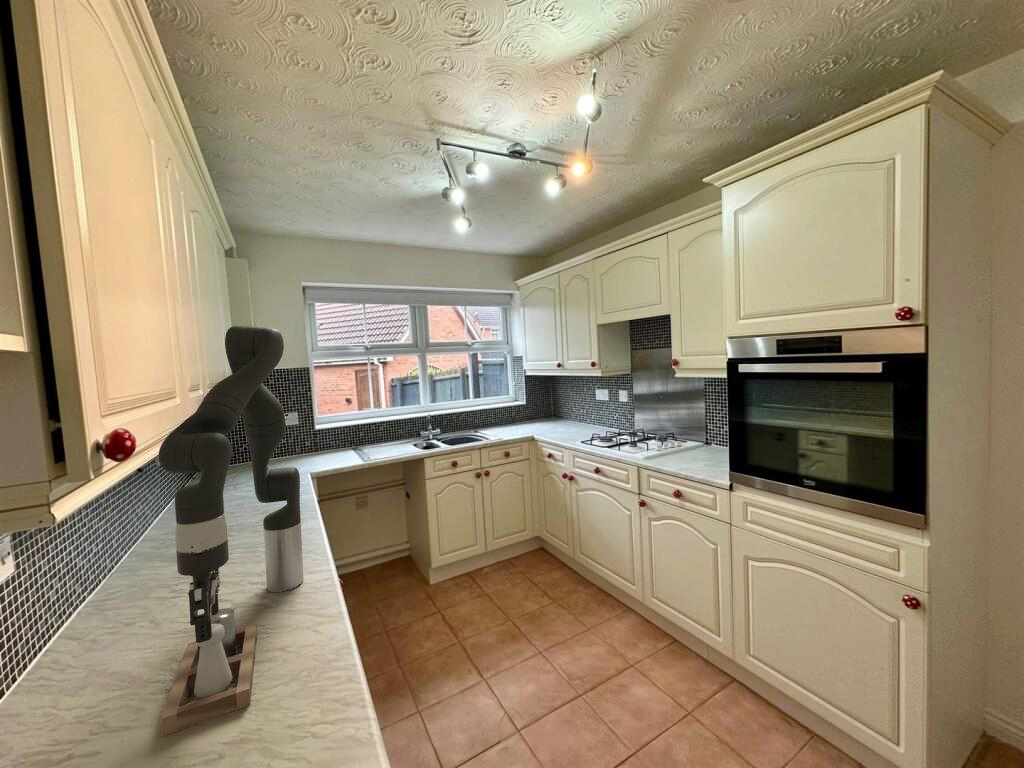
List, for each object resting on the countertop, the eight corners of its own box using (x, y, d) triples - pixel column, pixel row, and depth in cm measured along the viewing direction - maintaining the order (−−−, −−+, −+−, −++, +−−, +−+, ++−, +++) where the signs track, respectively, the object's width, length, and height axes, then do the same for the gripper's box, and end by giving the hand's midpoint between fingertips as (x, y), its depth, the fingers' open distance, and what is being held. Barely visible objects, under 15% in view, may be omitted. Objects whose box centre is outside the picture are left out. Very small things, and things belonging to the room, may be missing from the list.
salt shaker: (227, 679, 80) (224, 614, 80) (237, 693, 77) (233, 626, 76) (190, 698, 76) (186, 630, 76) (199, 714, 72) (195, 642, 72)
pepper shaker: (206, 659, 86) (203, 613, 86) (238, 650, 89) (235, 605, 89) (201, 676, 81) (198, 627, 81) (235, 666, 84) (232, 618, 84)
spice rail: (188, 657, 87) (187, 643, 87) (257, 637, 93) (256, 624, 93) (162, 736, 68) (160, 718, 68) (250, 704, 74) (249, 688, 74)
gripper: (185, 532, 79) (190, 613, 80) (166, 562, 67) (173, 658, 68) (231, 524, 83) (236, 601, 84) (222, 551, 71) (228, 642, 71)
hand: (208, 627), depth 76 cm, fingers open, 8 cm apart
